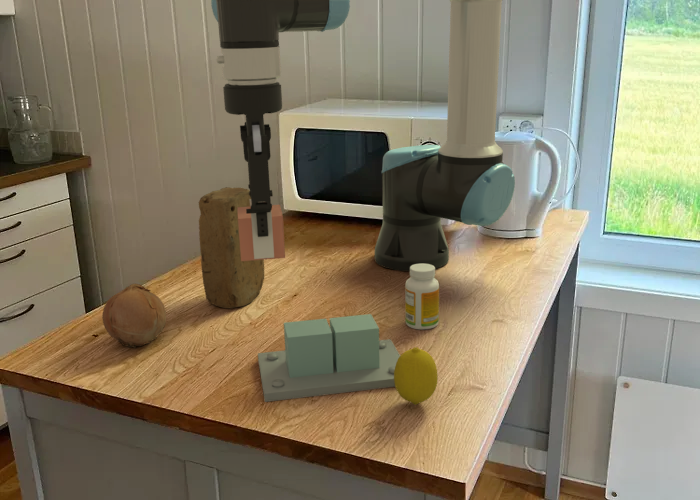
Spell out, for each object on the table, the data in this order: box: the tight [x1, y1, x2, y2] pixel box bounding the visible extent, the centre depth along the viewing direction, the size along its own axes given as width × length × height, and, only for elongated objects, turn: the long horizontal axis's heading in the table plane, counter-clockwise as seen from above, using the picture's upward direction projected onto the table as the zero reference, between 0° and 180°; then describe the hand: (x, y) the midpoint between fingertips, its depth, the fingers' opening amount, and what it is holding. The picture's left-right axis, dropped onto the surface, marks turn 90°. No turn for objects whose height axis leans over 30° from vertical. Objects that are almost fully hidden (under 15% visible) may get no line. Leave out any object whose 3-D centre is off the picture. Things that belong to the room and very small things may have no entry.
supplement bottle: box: [404, 263, 440, 330], centre depth 114 cm, size 5×5×10 cm
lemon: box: [394, 346, 438, 406], centre depth 90 cm, size 6×6×8 cm
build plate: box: [257, 313, 401, 403], centre depth 99 cm, size 20×12×7 cm, turn 101°
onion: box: [101, 283, 167, 349], centre depth 110 cm, size 10×9×10 cm
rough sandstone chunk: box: [198, 186, 265, 309], centre depth 124 cm, size 11×8×20 cm
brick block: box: [237, 204, 286, 261], centre depth 99 cm, size 6×6×6 cm
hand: (263, 249), depth 100 cm, fingers closed on brick block, 6 cm apart
